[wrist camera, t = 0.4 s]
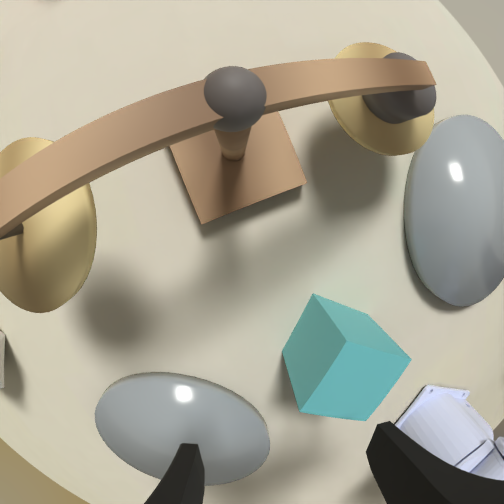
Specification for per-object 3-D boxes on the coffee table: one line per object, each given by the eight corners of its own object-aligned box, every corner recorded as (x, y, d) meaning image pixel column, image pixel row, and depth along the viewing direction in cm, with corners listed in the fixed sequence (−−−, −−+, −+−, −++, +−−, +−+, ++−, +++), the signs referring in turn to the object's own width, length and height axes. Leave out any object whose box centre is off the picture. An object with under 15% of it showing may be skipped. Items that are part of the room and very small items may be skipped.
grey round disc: (300, 405, 19) (303, 415, 18) (231, 487, 22) (231, 495, 21) (109, 341, 17) (103, 349, 16) (96, 445, 20) (92, 452, 18)
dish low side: (524, 180, 16) (532, 181, 15) (478, 319, 19) (486, 324, 18) (433, 80, 14) (442, 76, 13) (370, 262, 17) (378, 267, 16)
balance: (370, 66, 14) (492, -19, 2) (404, 148, 15) (563, 130, 4) (64, 185, 15) (-92, 201, 3) (97, 270, 16) (-37, 371, 4)
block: (367, 314, 18) (411, 359, 12) (336, 366, 19) (365, 421, 13) (312, 293, 17) (346, 340, 11) (281, 350, 18) (299, 411, 12)
